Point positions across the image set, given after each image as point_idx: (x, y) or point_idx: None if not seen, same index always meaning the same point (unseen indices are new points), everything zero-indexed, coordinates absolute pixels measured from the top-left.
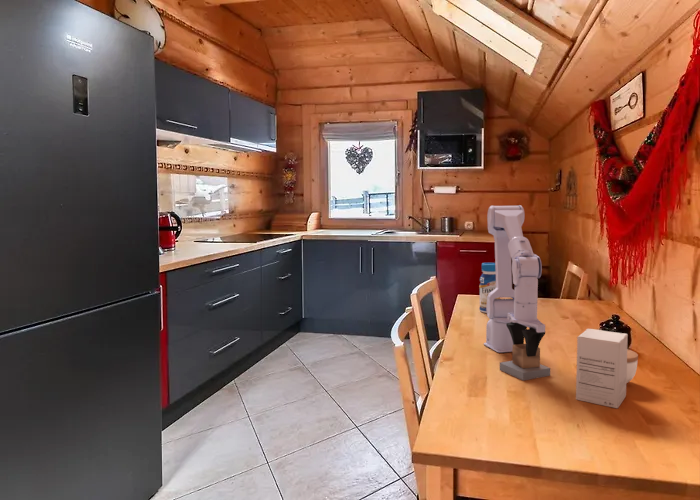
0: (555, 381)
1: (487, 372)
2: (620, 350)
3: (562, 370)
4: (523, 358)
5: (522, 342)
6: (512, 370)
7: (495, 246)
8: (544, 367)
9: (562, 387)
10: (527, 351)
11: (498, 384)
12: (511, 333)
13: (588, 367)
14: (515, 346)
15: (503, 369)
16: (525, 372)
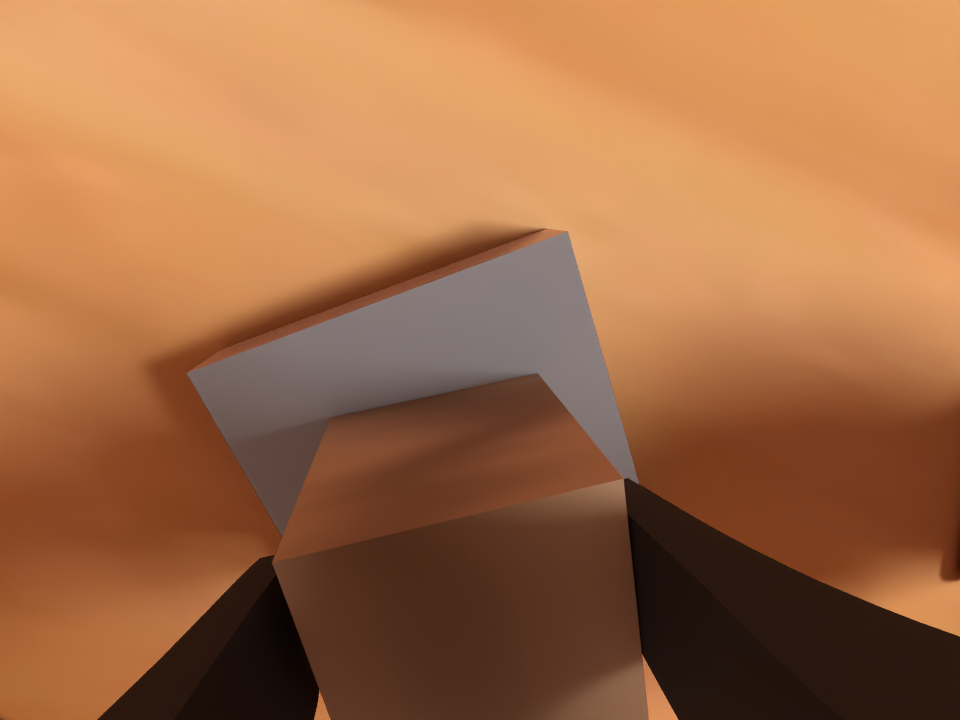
0: (213, 600)
1: (482, 58)
2: None
3: None
4: (309, 482)
5: (655, 660)
6: (357, 306)
7: None
8: None
9: (64, 606)
10: (221, 602)
11: (71, 34)
12: (846, 639)
13: None
14: (521, 498)
15: (493, 252)
16: (204, 403)
